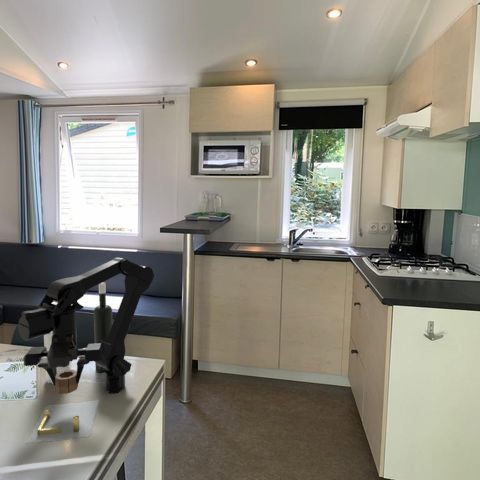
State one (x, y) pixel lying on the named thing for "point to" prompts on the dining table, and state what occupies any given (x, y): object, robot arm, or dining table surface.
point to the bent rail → (47, 430)
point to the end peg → (75, 423)
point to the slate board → (66, 421)
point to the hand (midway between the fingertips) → (66, 384)
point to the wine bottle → (102, 319)
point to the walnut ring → (66, 381)
